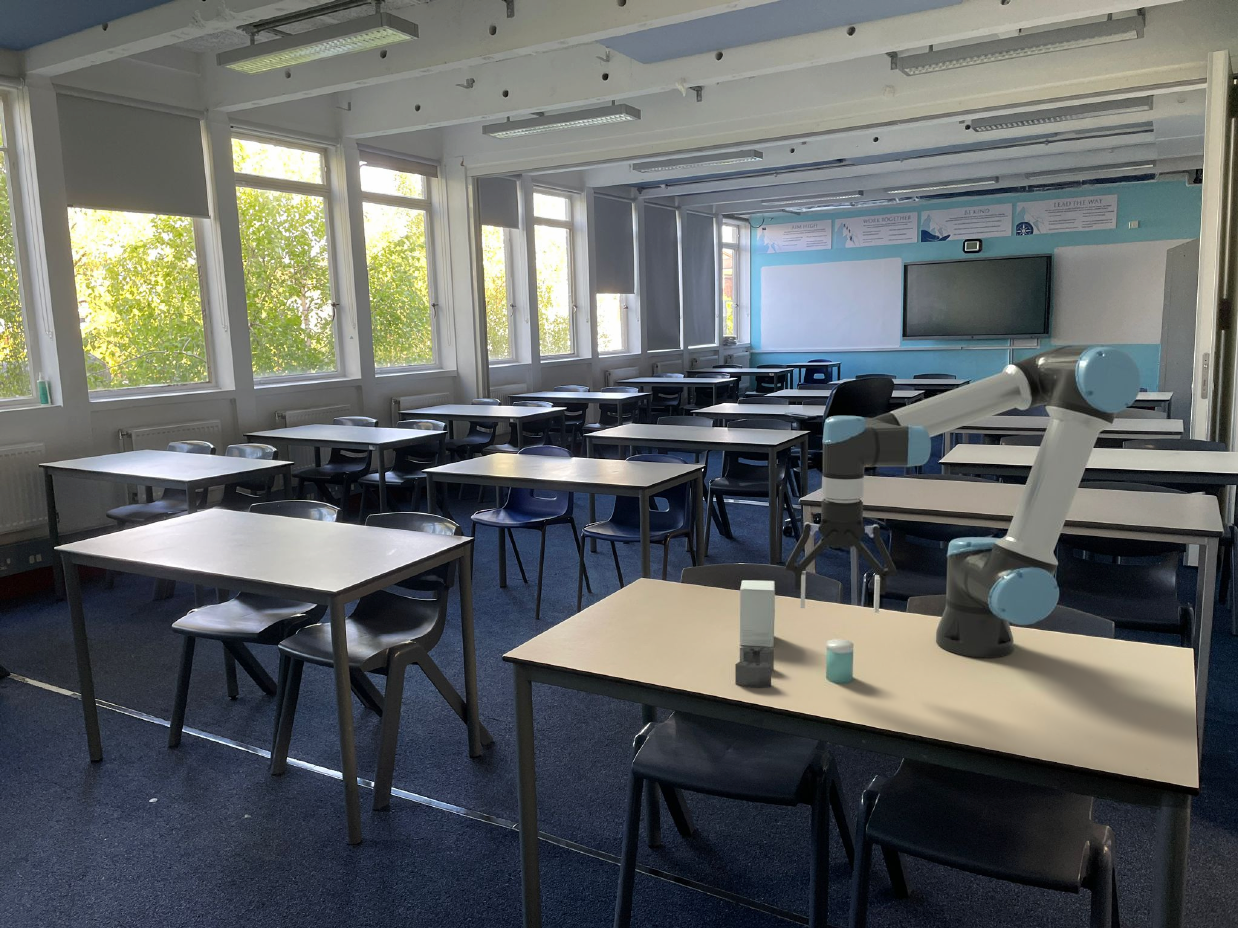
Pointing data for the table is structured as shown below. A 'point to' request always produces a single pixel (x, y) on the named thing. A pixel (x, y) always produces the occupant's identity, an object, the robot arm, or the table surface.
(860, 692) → the table surface
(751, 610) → the supplement box
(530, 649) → the table surface
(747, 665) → the grey stepped block
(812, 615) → the table surface
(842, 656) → the teal lidded jar
